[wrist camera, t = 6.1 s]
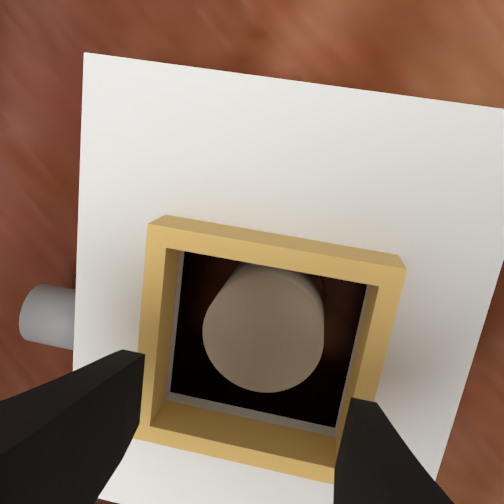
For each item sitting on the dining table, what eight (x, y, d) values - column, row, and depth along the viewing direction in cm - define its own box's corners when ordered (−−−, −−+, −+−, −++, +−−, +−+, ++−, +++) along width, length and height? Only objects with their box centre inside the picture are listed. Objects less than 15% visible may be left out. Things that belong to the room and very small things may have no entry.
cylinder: (332, 257, 18) (334, 292, 14) (315, 348, 19) (312, 403, 15) (233, 241, 18) (208, 269, 14) (222, 330, 19) (196, 379, 16)
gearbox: (483, 120, 17) (579, 112, 10) (387, 474, 21) (413, 617, 15) (77, 63, 18) (-49, 28, 12) (66, 401, 23) (-30, 503, 17)
